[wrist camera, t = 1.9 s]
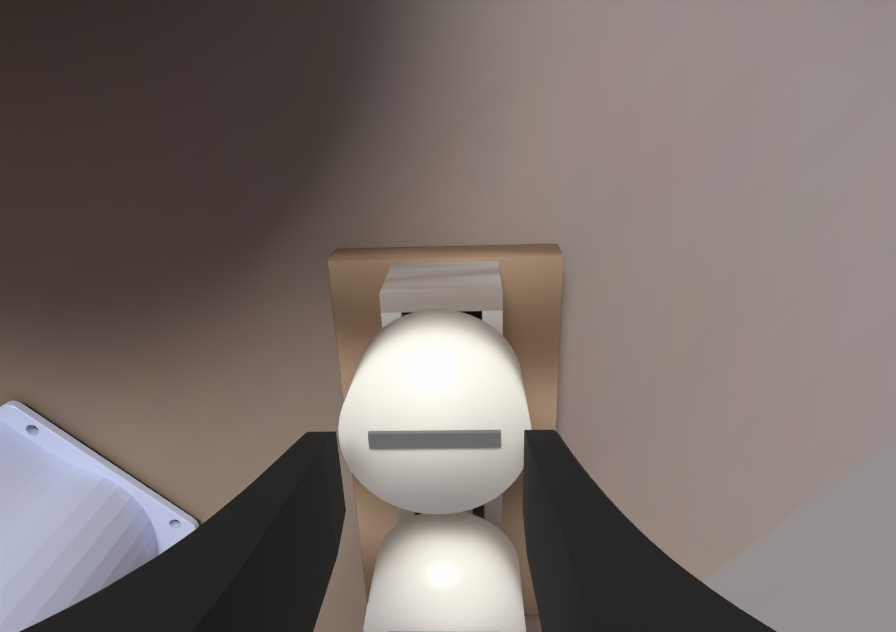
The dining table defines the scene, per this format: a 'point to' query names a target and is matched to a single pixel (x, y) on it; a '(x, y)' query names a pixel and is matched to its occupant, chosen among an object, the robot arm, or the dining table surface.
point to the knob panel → (468, 291)
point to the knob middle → (446, 578)
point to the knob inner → (436, 414)
